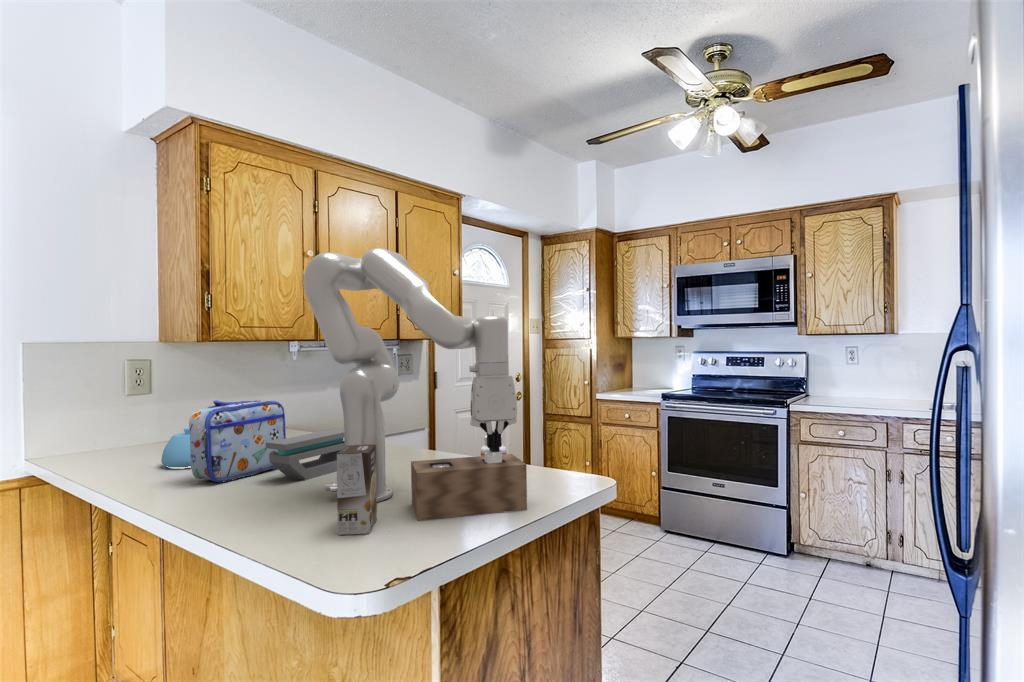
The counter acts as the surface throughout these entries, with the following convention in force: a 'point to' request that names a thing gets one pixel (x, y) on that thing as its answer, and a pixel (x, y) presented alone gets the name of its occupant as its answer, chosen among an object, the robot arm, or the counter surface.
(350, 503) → the coffee box
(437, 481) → the walnut block
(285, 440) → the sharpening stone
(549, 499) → the counter surface
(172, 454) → the sugar bowl
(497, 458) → the peg right
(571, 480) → the counter surface
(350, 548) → the counter surface
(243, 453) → the lunch box
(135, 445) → the counter surface
